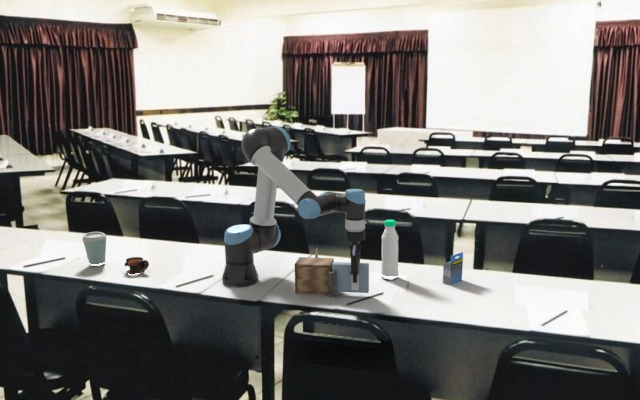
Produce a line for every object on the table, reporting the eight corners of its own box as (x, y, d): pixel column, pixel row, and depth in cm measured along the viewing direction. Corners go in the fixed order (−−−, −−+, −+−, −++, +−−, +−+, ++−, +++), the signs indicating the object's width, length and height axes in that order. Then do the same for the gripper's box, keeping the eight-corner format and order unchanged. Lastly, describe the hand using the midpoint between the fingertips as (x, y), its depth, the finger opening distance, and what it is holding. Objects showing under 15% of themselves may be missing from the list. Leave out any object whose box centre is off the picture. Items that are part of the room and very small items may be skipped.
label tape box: (454, 278, 258) (455, 250, 256) (462, 280, 256) (463, 251, 253) (442, 283, 252) (442, 254, 250) (450, 285, 249) (451, 256, 247)
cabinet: (293, 296, 240) (293, 266, 237) (300, 285, 252) (299, 257, 250) (336, 297, 237) (336, 267, 235) (341, 286, 249) (340, 258, 247)
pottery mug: (120, 277, 269) (119, 258, 271) (132, 280, 277) (132, 262, 280) (144, 271, 266) (143, 253, 268) (156, 275, 274) (155, 257, 277)
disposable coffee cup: (113, 263, 287) (111, 232, 285) (94, 269, 278) (91, 237, 276) (99, 260, 293) (96, 230, 290) (79, 266, 284) (76, 234, 281)
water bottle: (400, 276, 262) (400, 219, 257) (395, 281, 255) (395, 222, 251) (384, 274, 265) (384, 218, 260) (379, 279, 258) (379, 221, 254)
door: (332, 291, 238) (331, 264, 236) (333, 289, 241) (333, 262, 239) (368, 293, 236) (368, 265, 234) (368, 290, 239) (368, 263, 237)
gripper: (363, 235, 225) (363, 295, 230) (367, 225, 241) (367, 282, 245) (343, 234, 227) (343, 295, 231) (348, 224, 242) (348, 281, 247)
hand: (355, 288), depth 238 cm, fingers closed on door, 3 cm apart
